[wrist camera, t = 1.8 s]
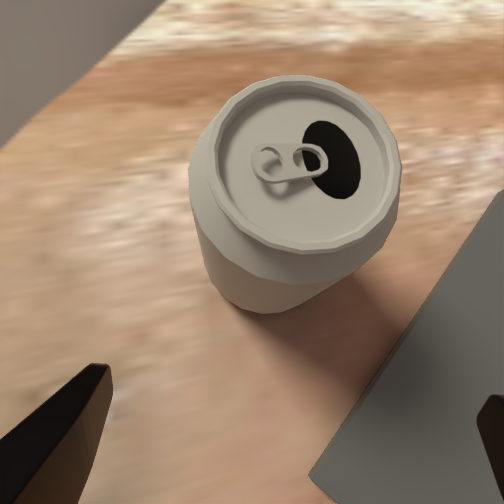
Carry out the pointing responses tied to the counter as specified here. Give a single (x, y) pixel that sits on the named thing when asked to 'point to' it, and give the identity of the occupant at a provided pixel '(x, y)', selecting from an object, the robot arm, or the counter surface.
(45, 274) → the counter surface
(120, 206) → the counter surface
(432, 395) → the bar mat
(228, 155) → the can
